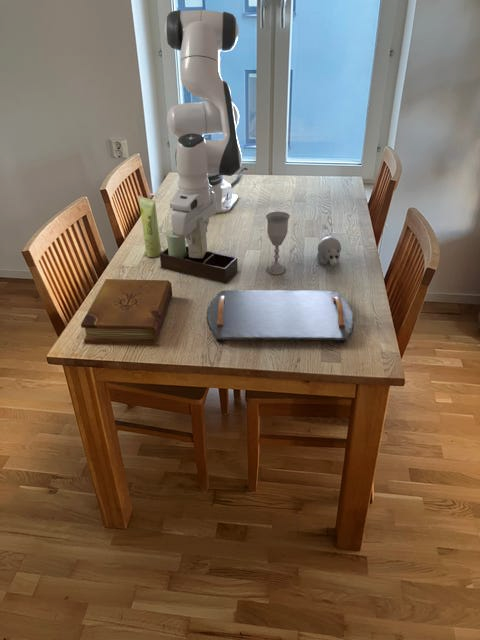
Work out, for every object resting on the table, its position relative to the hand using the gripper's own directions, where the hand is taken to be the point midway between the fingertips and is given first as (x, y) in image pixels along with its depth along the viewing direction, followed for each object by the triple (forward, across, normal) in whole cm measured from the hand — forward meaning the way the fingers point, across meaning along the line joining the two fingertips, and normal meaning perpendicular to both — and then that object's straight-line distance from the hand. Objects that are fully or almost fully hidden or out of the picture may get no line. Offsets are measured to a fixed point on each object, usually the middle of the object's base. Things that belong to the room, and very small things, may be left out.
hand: (197, 238), depth 158 cm
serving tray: (+11, +16, +34) cm, 39 cm away
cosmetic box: (+5, 0, 0) cm, 5 cm away
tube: (+11, -3, -19) cm, 22 cm away
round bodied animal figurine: (+11, -20, +36) cm, 43 cm away
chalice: (+11, -10, +22) cm, 27 cm away
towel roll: (+11, 0, -8) cm, 13 cm away
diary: (+11, +32, -3) cm, 34 cm away
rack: (+11, 0, 0) cm, 11 cm away
